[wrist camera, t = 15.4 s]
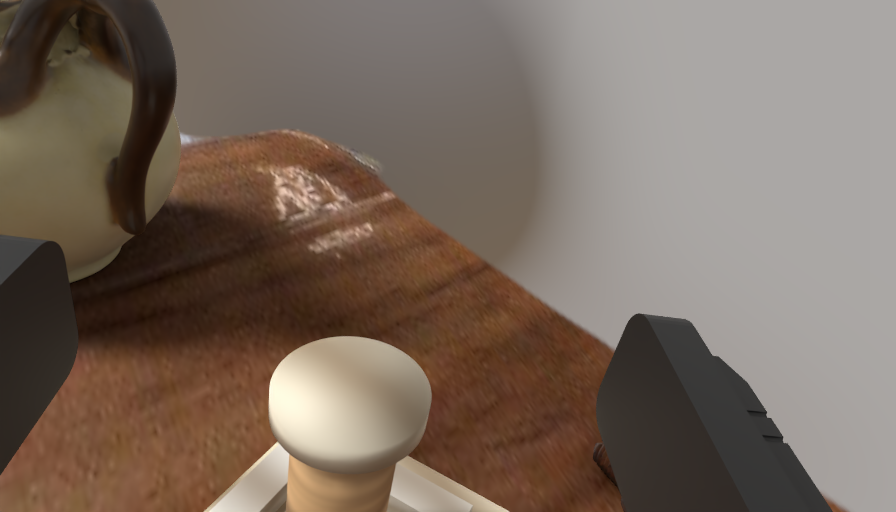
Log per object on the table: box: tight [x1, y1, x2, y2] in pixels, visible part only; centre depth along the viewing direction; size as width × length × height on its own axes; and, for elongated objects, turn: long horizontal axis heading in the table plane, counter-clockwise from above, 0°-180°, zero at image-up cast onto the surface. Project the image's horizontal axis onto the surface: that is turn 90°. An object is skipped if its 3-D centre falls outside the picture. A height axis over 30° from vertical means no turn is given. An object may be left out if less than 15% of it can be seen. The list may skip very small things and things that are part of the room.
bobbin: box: [269, 336, 431, 512], centre depth 27 cm, size 6×6×12 cm
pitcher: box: [0, 0, 181, 283], centre depth 44 cm, size 22×24×25 cm
